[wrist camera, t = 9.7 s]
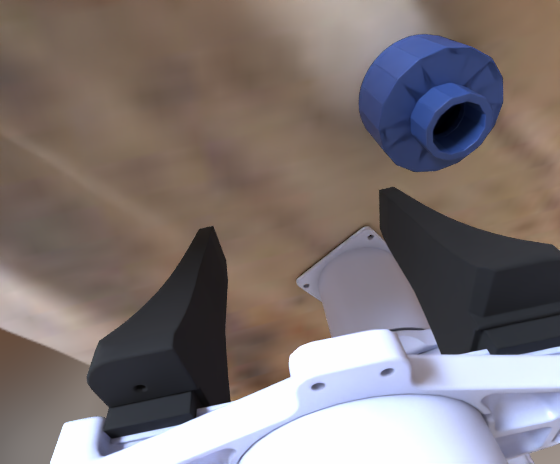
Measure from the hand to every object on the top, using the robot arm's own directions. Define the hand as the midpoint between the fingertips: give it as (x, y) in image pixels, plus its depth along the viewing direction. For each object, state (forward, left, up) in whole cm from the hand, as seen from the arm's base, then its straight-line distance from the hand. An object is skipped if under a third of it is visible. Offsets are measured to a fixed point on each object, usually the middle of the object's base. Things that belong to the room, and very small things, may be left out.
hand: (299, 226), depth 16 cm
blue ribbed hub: (-4, -8, -10) cm, 14 cm away
